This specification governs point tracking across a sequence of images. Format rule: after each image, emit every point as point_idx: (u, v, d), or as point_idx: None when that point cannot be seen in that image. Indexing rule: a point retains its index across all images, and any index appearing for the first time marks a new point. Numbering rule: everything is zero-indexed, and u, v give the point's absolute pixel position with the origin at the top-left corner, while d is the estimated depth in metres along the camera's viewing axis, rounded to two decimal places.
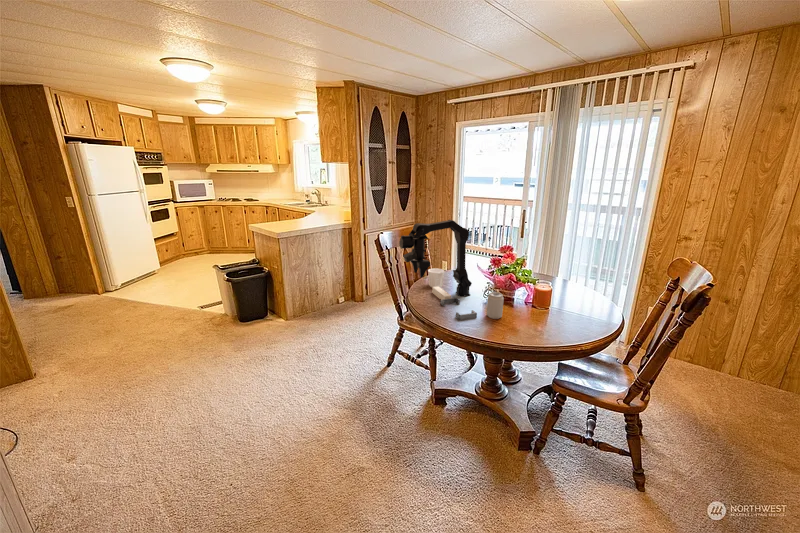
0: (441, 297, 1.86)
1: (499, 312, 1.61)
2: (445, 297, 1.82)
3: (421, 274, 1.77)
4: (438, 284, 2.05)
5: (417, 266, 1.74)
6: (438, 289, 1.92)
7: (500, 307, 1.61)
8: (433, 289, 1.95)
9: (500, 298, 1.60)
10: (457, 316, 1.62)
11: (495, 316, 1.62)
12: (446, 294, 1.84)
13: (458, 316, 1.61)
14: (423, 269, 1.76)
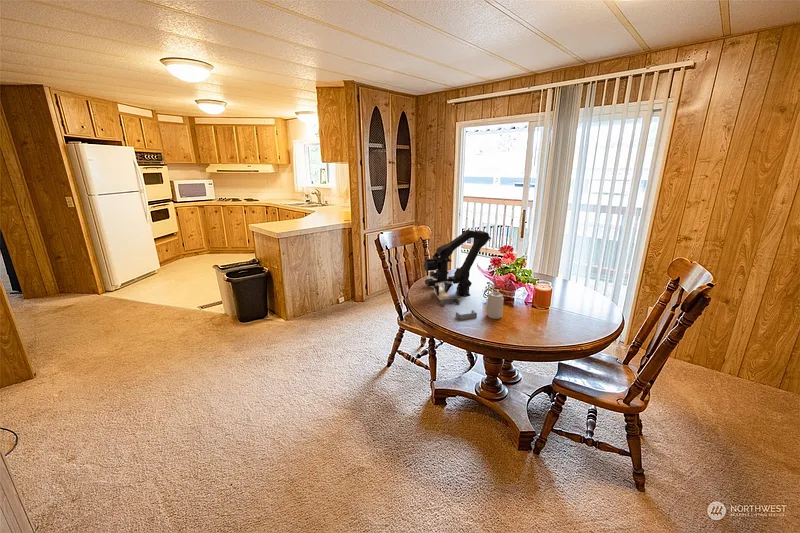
0: (440, 297, 1.86)
1: (499, 312, 1.61)
2: (443, 297, 1.82)
3: (436, 292, 1.89)
4: (438, 284, 2.05)
5: None
6: (439, 289, 1.92)
7: (500, 307, 1.61)
8: (434, 288, 1.95)
9: (500, 298, 1.60)
10: (457, 316, 1.62)
11: (495, 316, 1.62)
12: (445, 294, 1.84)
13: (458, 316, 1.61)
14: (436, 288, 1.87)
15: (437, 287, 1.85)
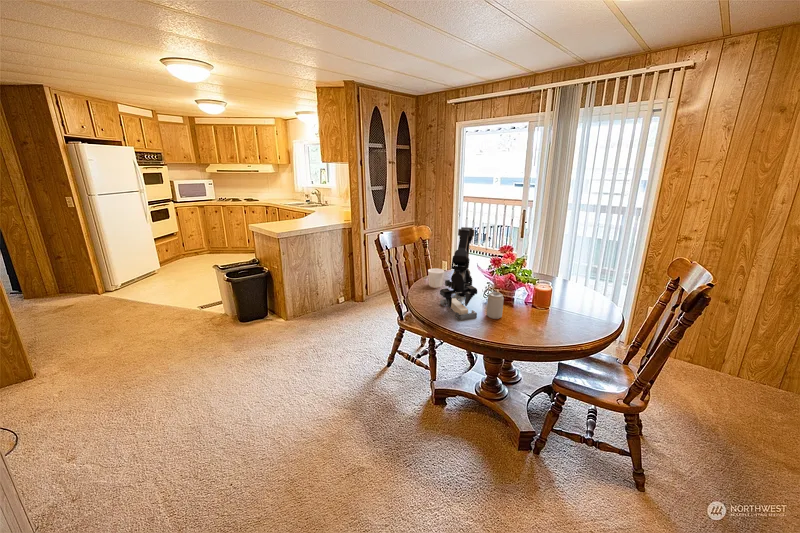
0: (457, 311, 1.67)
1: (499, 312, 1.61)
2: (461, 311, 1.64)
3: (448, 304, 1.70)
4: (438, 284, 2.05)
5: None
6: (454, 301, 1.74)
7: (500, 307, 1.61)
8: None
9: (500, 298, 1.60)
10: (457, 316, 1.62)
11: (495, 316, 1.62)
12: (463, 308, 1.66)
13: (458, 316, 1.61)
14: (448, 299, 1.68)
15: (450, 299, 1.66)
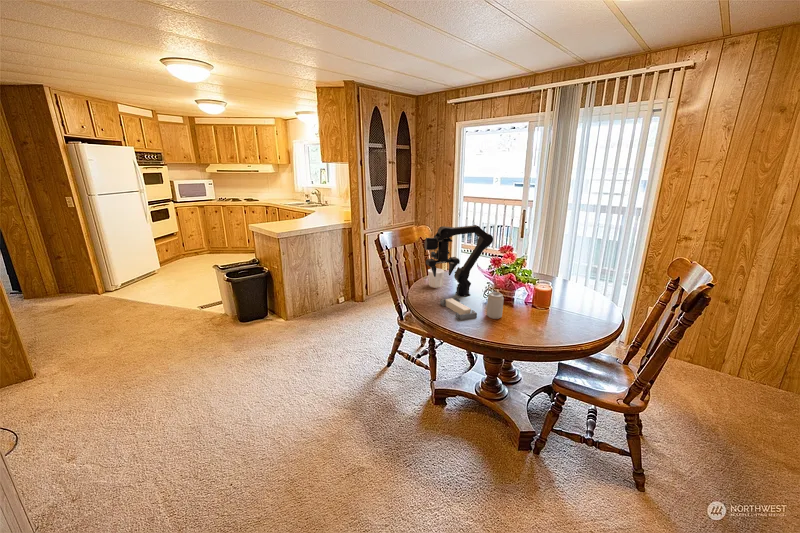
0: (459, 311, 1.67)
1: (499, 312, 1.61)
2: (465, 311, 1.64)
3: (433, 273, 1.87)
4: (438, 284, 2.05)
5: None
6: (453, 302, 1.74)
7: (500, 307, 1.61)
8: (447, 302, 1.76)
9: (500, 298, 1.60)
10: (457, 316, 1.62)
11: (495, 316, 1.62)
12: (465, 307, 1.66)
13: (458, 316, 1.61)
14: (433, 269, 1.86)
15: (434, 267, 1.83)
